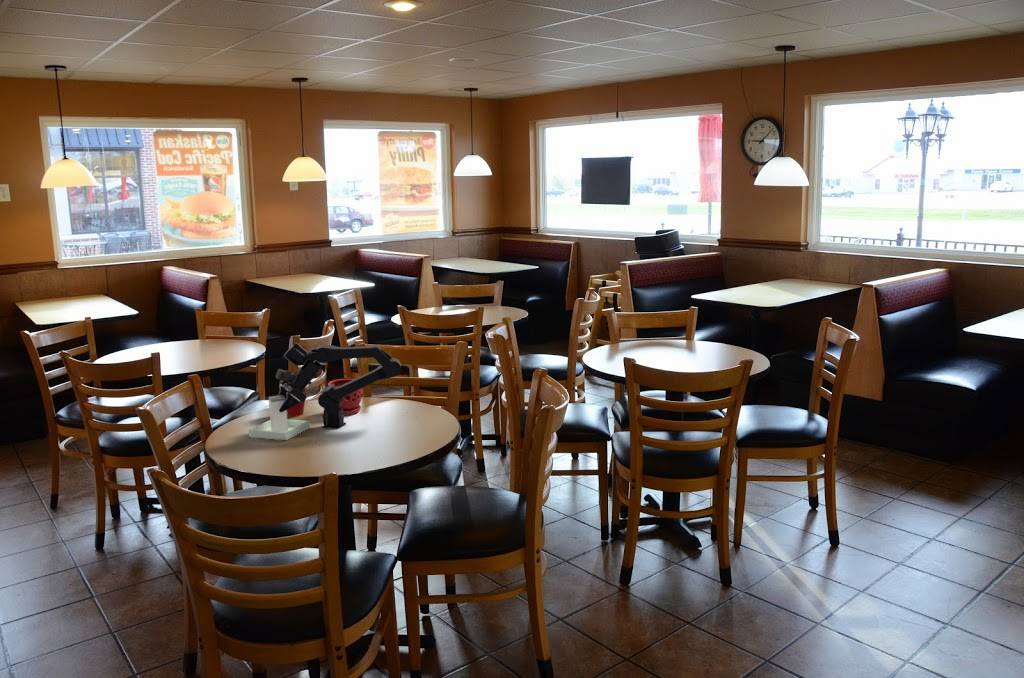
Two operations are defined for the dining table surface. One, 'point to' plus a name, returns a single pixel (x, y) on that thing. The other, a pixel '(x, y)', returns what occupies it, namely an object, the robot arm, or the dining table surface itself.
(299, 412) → the plastic cup
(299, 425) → the tray
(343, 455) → the dining table surface
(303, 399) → the robot arm
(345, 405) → the plant pot
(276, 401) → the white rectangular box
